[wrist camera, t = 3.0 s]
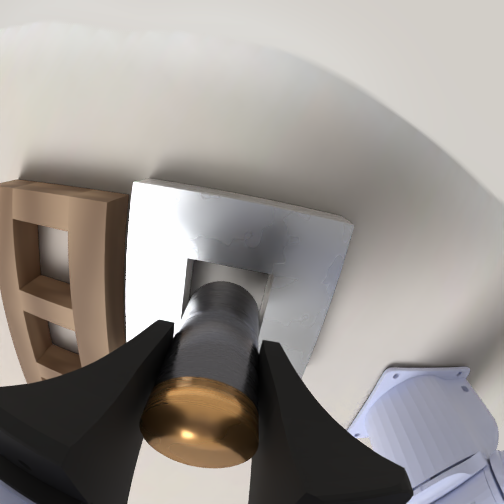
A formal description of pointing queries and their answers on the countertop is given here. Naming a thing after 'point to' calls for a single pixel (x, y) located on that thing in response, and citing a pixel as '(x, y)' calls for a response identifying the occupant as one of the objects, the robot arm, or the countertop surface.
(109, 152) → the countertop surface
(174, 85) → the countertop surface
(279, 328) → the socket block
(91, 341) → the rack
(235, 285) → the steel peg
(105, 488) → the robot arm
